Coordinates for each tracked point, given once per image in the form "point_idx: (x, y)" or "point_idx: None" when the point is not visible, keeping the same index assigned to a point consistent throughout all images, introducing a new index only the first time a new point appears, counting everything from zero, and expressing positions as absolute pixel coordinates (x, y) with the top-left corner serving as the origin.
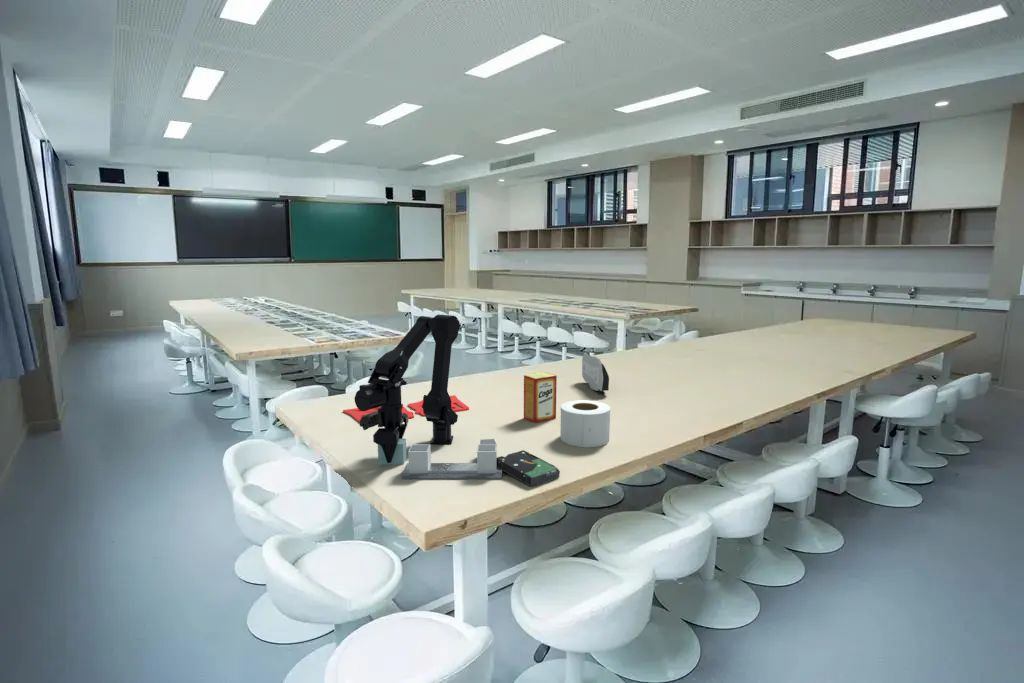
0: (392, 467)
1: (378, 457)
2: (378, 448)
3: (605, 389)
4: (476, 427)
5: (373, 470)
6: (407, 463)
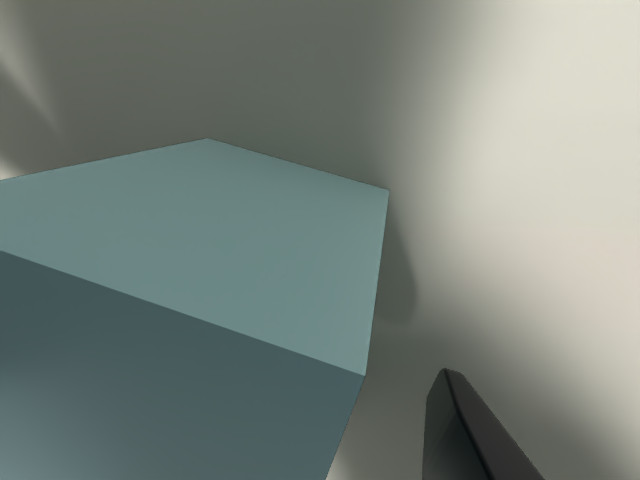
0: None
1: (156, 152)
2: (23, 188)
3: None
4: None
5: (46, 77)
6: None
